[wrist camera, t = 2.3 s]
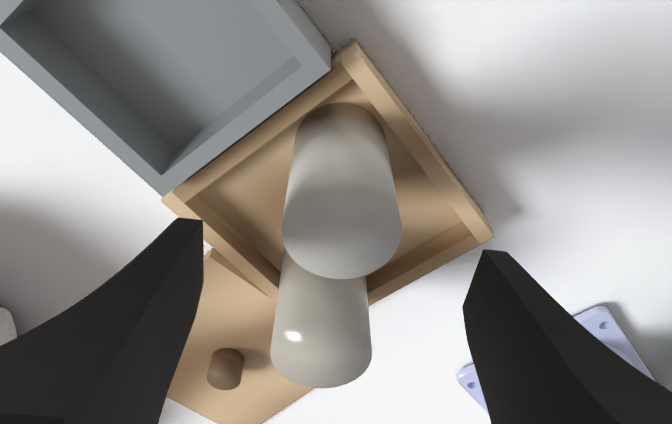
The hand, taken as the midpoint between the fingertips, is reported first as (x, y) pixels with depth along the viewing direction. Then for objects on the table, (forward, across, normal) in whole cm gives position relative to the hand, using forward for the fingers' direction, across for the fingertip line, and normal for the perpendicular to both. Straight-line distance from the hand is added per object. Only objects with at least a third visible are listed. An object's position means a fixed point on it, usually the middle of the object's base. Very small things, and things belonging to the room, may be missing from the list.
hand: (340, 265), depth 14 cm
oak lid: (+8, +4, +12) cm, 15 cm away
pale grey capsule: (+7, 0, 0) cm, 7 cm away
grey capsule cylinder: (+7, 0, +5) cm, 9 cm away
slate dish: (+8, +6, -3) cm, 10 cm away
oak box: (+8, 0, +3) cm, 8 cm away
